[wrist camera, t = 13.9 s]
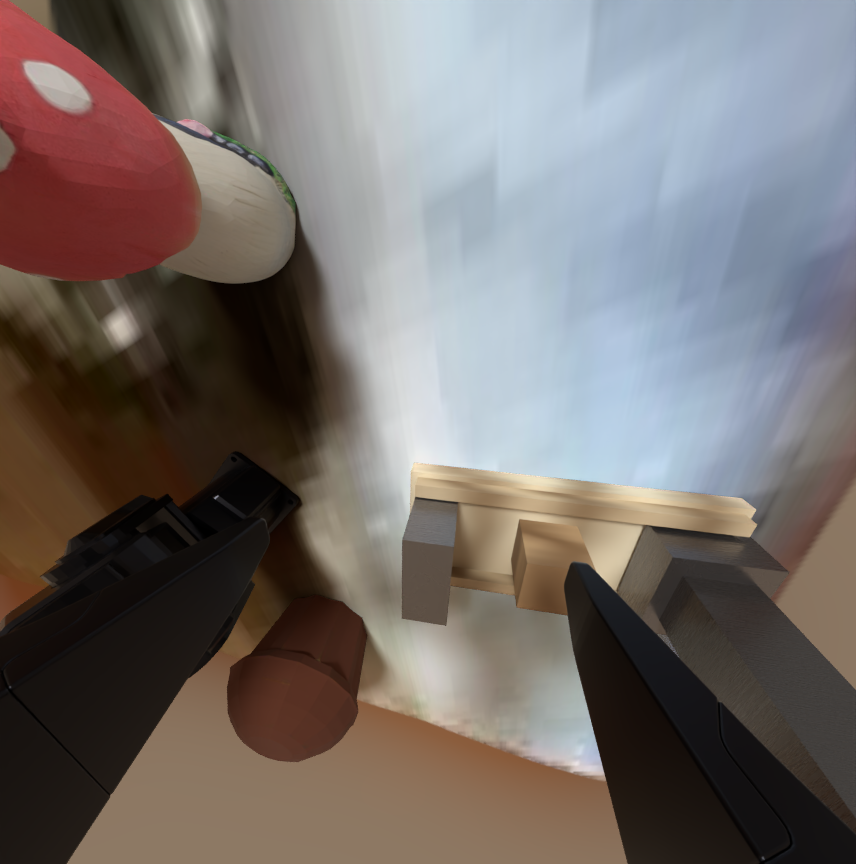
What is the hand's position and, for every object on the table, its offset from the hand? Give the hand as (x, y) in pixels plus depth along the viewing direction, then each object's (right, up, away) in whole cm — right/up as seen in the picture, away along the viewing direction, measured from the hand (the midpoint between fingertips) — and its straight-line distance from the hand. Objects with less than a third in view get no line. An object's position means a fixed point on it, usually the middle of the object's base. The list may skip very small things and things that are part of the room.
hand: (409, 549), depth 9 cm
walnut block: (+9, -5, +14) cm, 17 cm away
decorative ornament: (-10, +16, +9) cm, 21 cm away
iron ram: (+18, -6, +13) cm, 23 cm away
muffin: (-10, -17, +24) cm, 31 cm away
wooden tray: (+10, -4, +15) cm, 19 cm away
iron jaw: (+1, -4, +15) cm, 15 cm away
